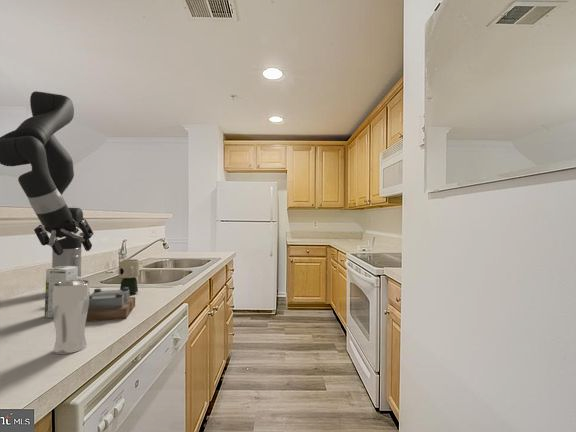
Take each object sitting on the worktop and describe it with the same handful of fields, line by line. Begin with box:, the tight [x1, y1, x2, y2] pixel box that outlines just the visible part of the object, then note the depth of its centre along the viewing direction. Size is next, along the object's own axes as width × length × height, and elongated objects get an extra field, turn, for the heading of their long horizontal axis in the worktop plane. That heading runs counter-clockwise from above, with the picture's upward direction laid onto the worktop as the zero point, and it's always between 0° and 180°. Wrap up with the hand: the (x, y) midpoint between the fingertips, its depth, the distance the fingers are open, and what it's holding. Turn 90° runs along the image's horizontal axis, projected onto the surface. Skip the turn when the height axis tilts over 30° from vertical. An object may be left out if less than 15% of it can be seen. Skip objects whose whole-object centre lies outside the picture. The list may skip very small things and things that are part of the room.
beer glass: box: [52, 279, 91, 355], centre depth 68 cm, size 7×7×15 cm
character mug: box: [118, 258, 140, 296], centre depth 115 cm, size 11×7×13 cm, turn 36°
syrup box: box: [44, 266, 78, 319], centre depth 90 cm, size 6×6×14 cm
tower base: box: [86, 287, 136, 323], centre depth 92 cm, size 13×13×7 cm
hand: (75, 251), depth 94 cm, fingers open, 8 cm apart
